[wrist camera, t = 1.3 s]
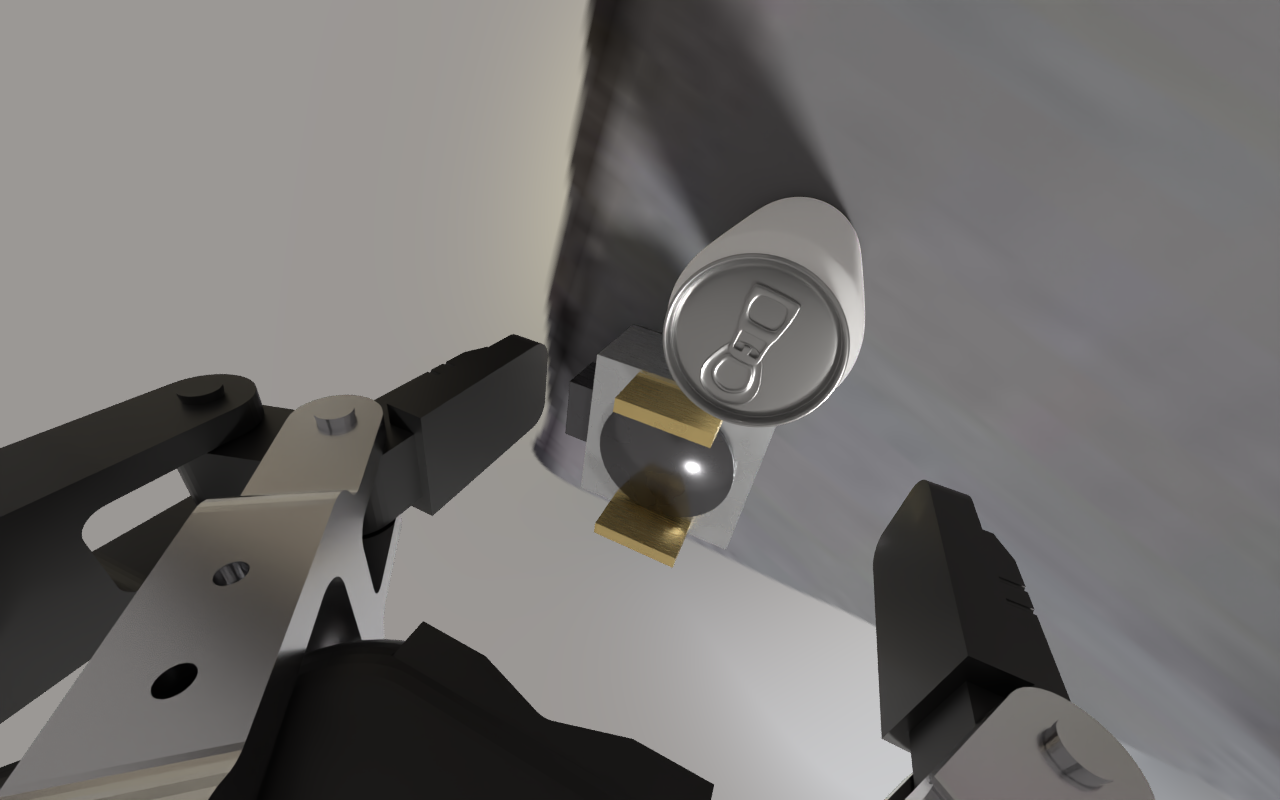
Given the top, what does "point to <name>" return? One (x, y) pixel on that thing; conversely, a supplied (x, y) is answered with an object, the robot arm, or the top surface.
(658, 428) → the motor housing
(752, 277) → the can
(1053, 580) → the top surface
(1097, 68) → the top surface
